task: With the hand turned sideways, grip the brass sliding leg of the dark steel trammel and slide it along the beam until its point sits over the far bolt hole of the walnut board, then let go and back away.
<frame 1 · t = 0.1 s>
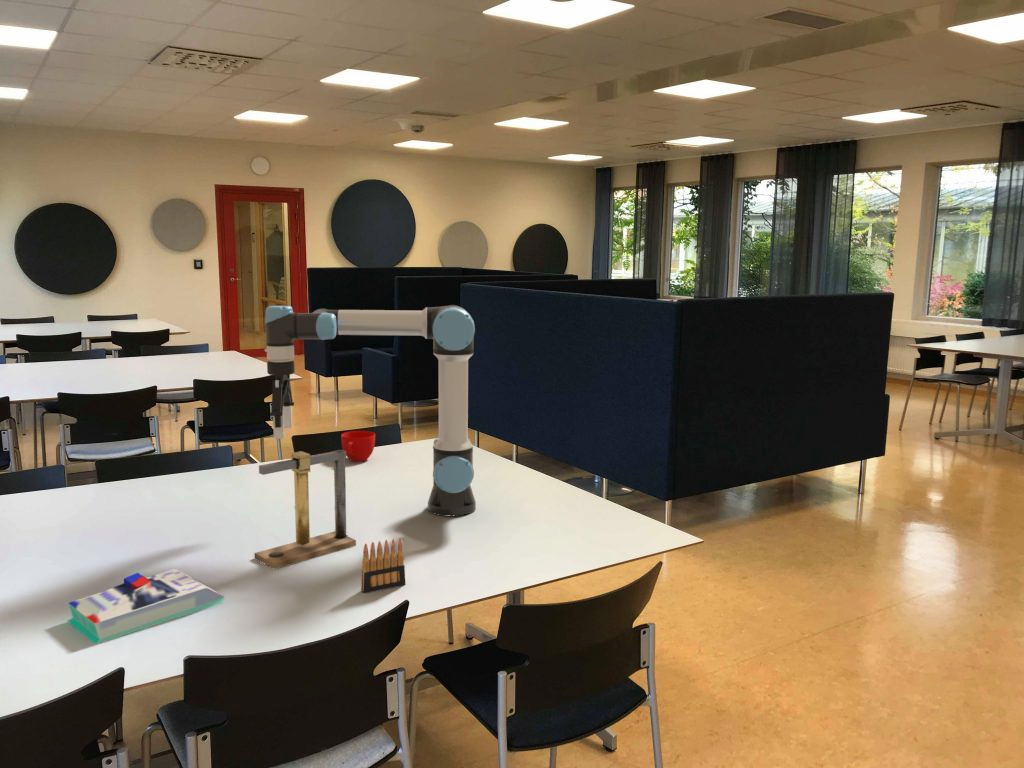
hand: (283, 433, 236), 28 cm above the table, tool pointing down, fingers open, 13 cm apart
ceramic cup: (356, 461, 315), on the table
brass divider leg: (301, 499, 218), point 15 cm above the table, slide at 1.0 cm
ammunition clip: (383, 588, 198), on the table
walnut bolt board: (306, 551, 221), on the table
toy car: (146, 614, 183), on the table
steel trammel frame: (305, 502, 218), on the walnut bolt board, point 14 cm above the table
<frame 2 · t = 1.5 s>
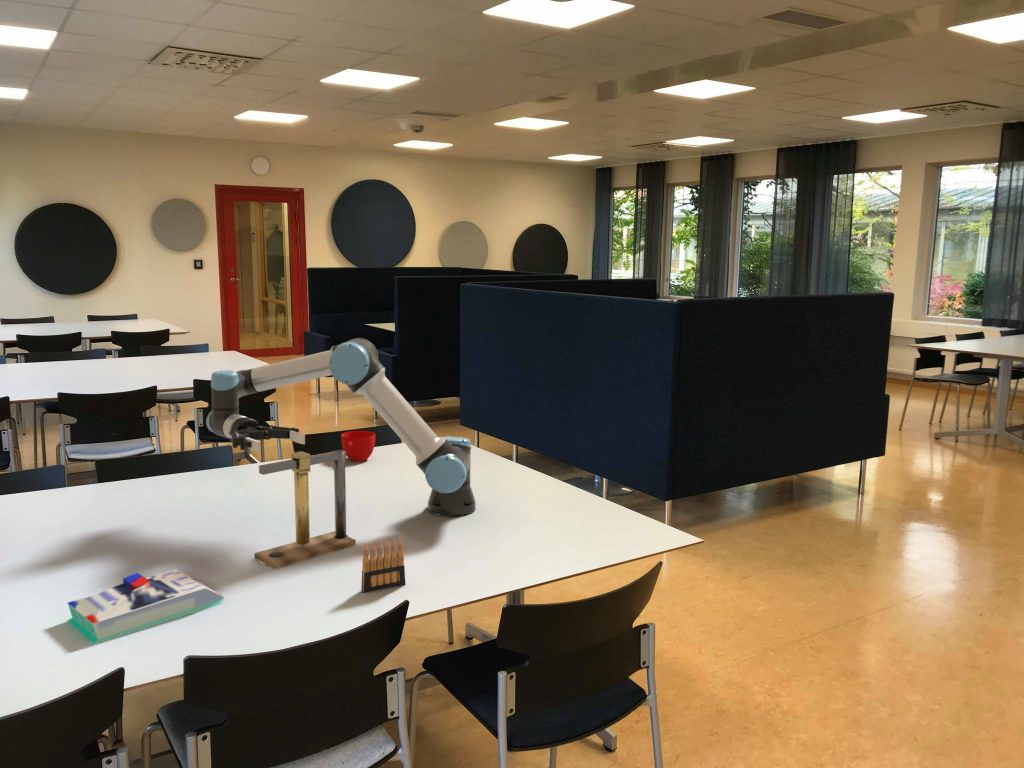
hand: (282, 443, 222), 29 cm above the table, tool horizontal, fingers open, 13 cm apart
nothing on the table moved.
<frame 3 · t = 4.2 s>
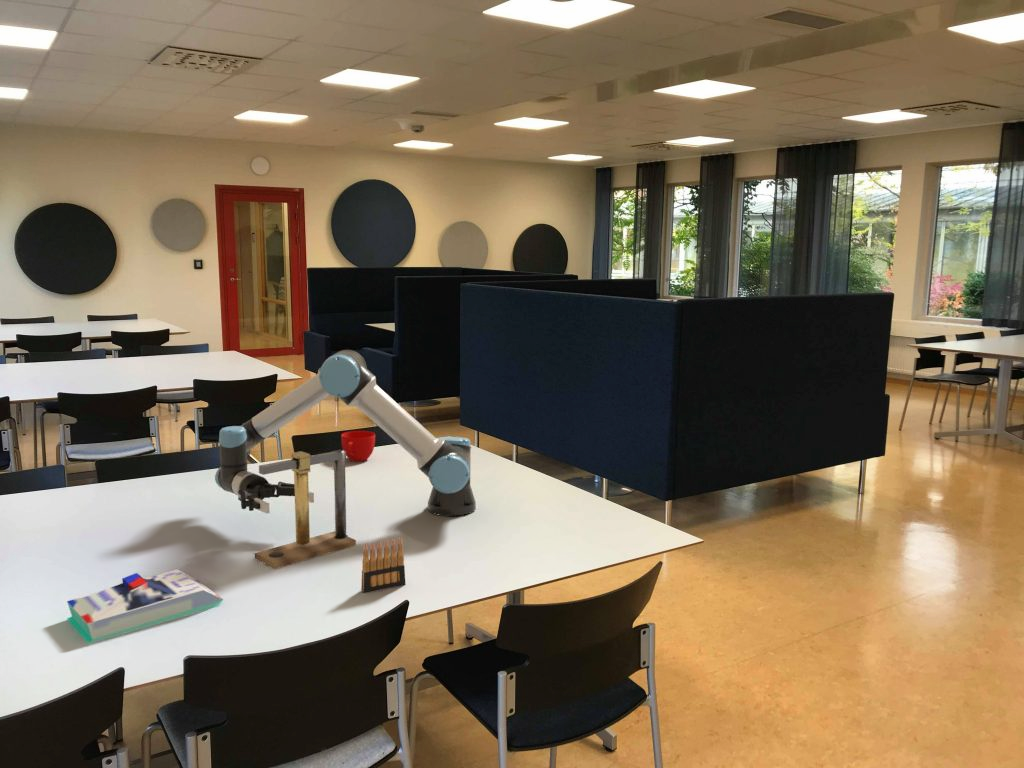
hand: (290, 503, 221), 13 cm above the table, tool horizontal, fingers open, 13 cm apart
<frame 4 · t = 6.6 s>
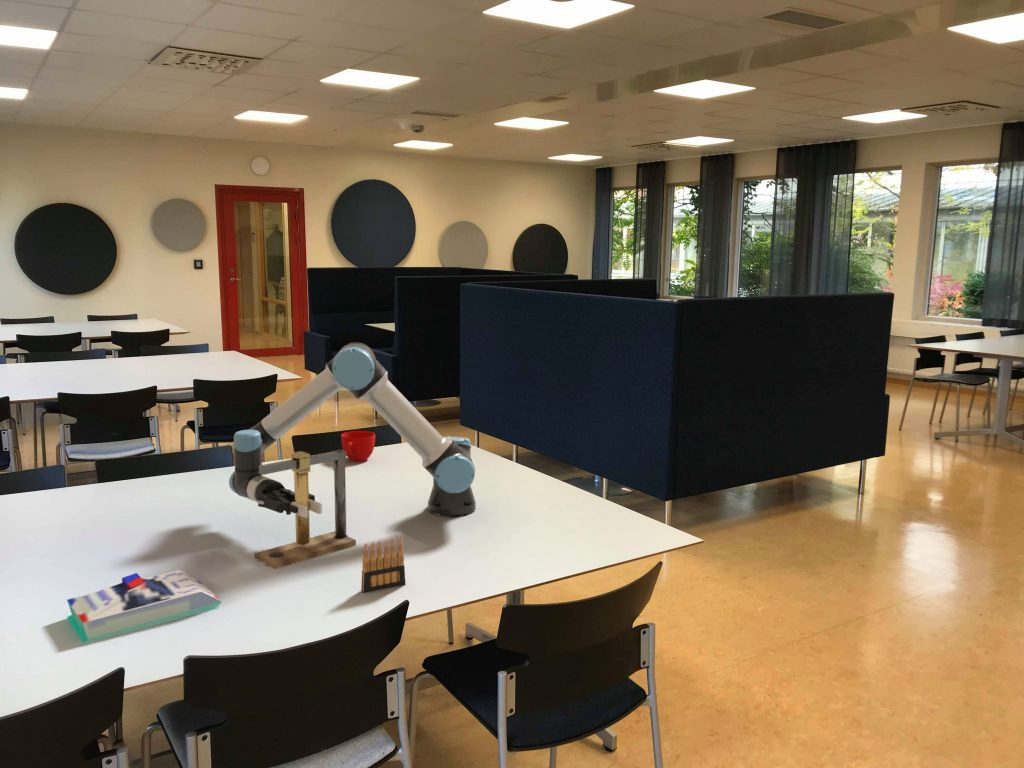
hand: (313, 510, 214), 13 cm above the table, tool horizontal, fingers closed on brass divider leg, 4 cm apart
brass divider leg: (301, 499, 218), point 15 cm above the table, slide at 1.0 cm, touching gripper
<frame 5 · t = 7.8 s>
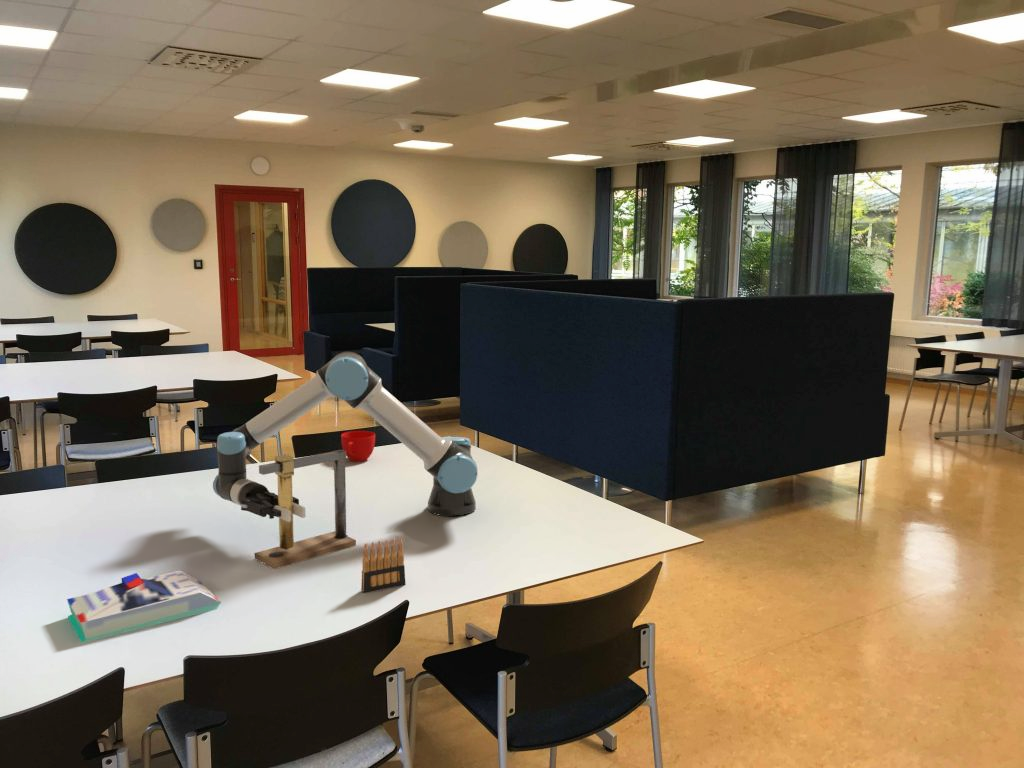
hand: (296, 514, 211), 13 cm above the table, tool horizontal, fingers closed on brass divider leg, 4 cm apart
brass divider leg: (285, 503, 214), point 15 cm above the table, slide at 5.9 cm, touching gripper
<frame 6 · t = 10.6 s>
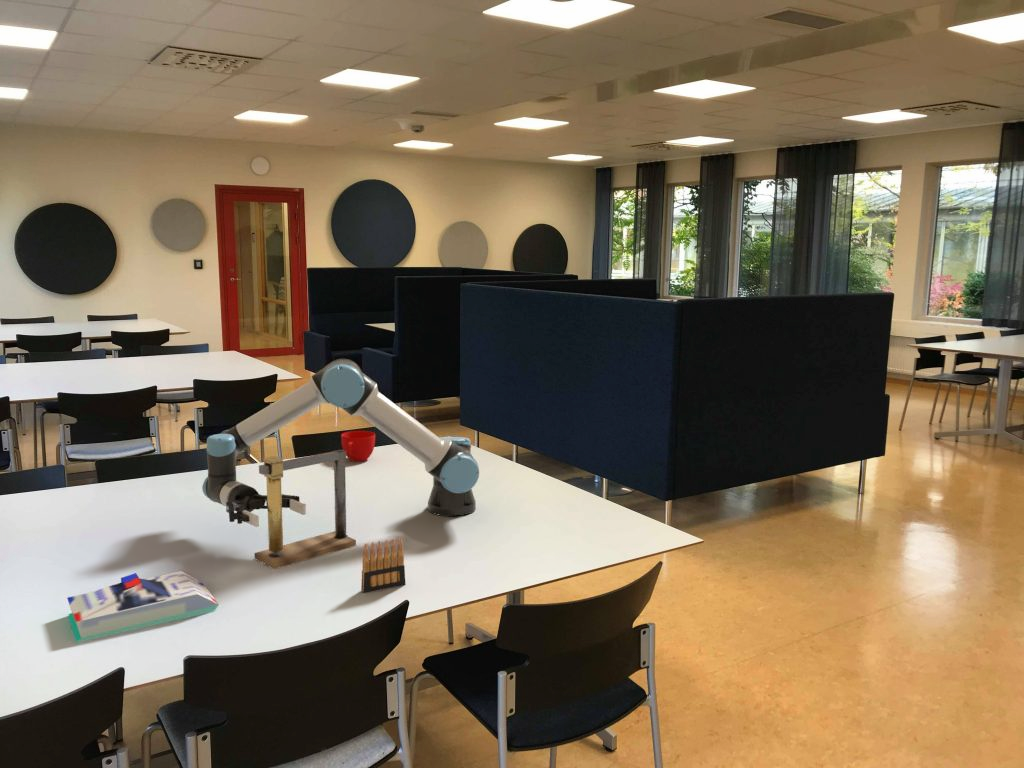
hand: (281, 515, 210), 13 cm above the table, tool horizontal, fingers open, 13 cm apart
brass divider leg: (274, 506, 212), point 15 cm above the table, slide at 9.0 cm
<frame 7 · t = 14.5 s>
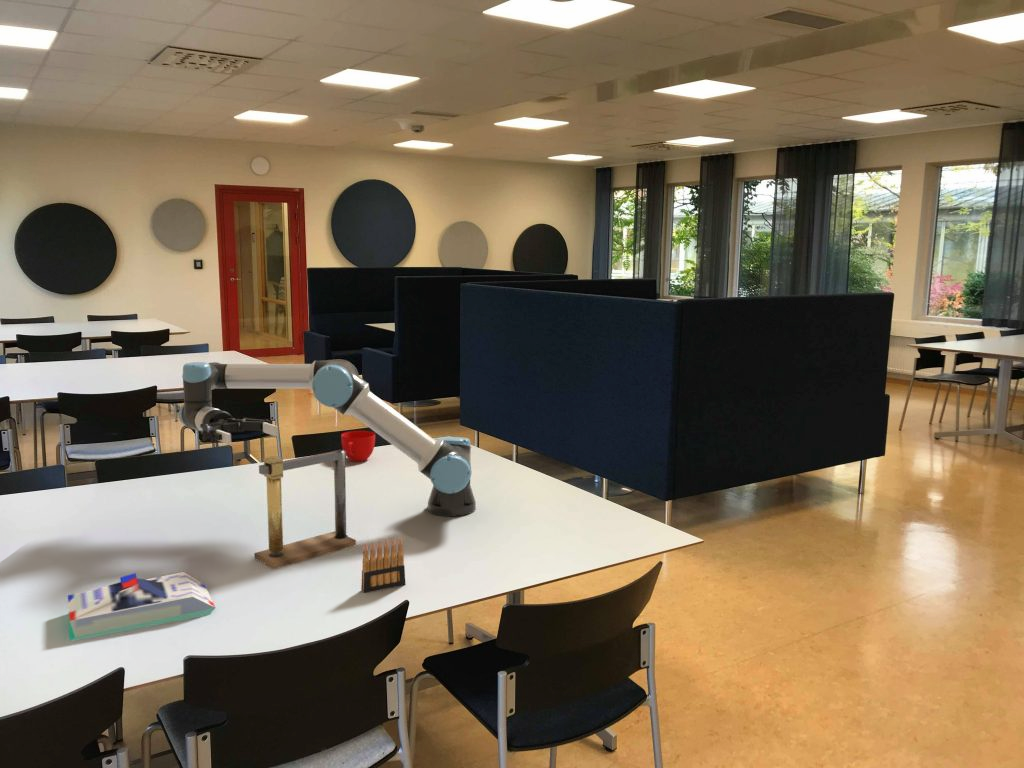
hand: (253, 435, 216), 32 cm above the table, tool horizontal, fingers open, 13 cm apart
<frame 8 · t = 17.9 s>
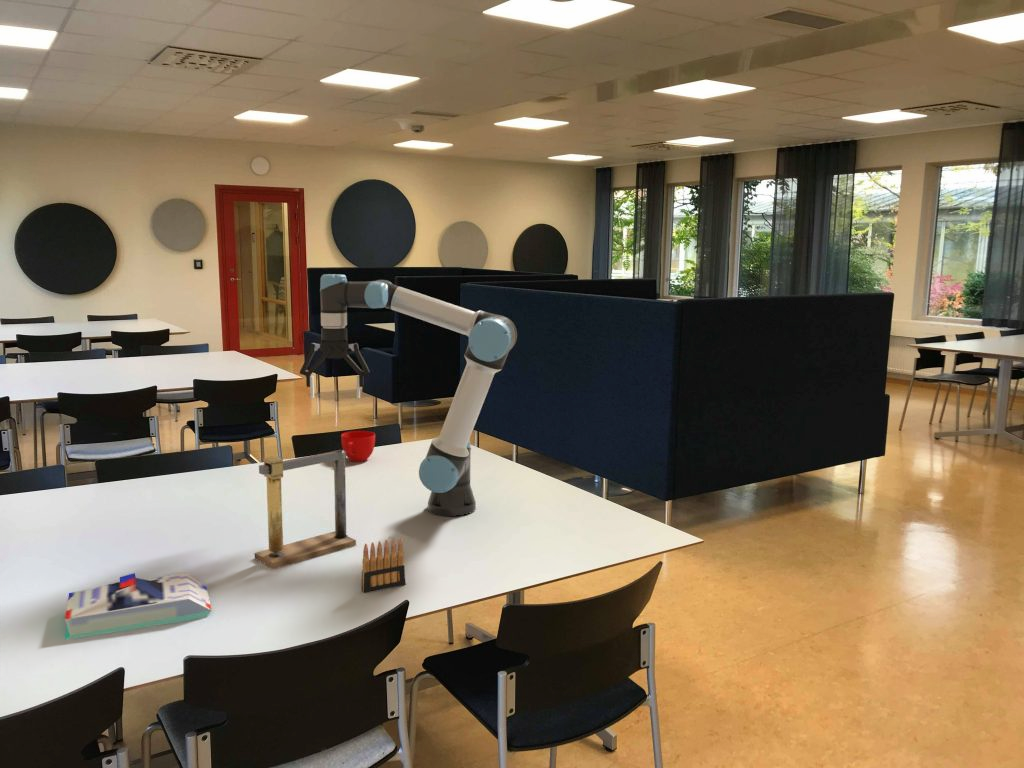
hand: (335, 397, 245), 37 cm above the table, tool pointing down, fingers open, 13 cm apart
at the end: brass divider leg slide at 9.0 cm; the gripper is holding nothing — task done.
